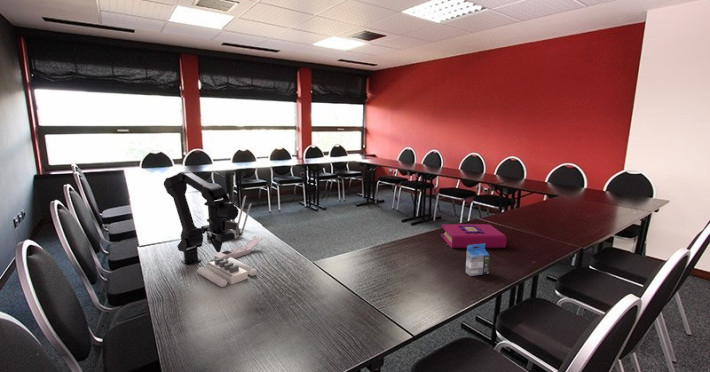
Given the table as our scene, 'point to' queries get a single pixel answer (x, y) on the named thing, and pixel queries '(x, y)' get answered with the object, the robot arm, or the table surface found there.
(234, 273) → the breaker strip
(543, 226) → the table surface
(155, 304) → the table surface
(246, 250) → the mobile phone
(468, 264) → the label tape box
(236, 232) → the wireless router
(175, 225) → the table surface
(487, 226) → the book
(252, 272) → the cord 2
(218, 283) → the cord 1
